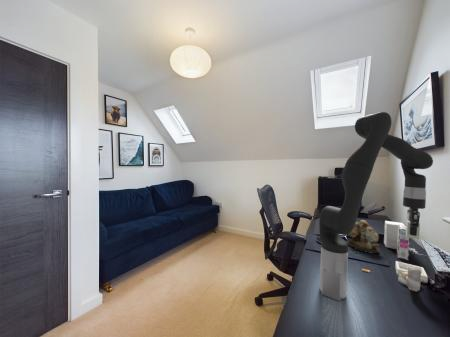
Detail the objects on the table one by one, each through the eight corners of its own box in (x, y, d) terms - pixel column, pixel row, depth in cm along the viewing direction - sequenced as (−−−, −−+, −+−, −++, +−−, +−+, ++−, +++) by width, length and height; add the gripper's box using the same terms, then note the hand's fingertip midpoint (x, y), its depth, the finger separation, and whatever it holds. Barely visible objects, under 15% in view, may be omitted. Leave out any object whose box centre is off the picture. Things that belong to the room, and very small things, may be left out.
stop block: (418, 239, 89) (419, 223, 89) (406, 237, 91) (407, 221, 91) (417, 236, 92) (418, 221, 92) (405, 234, 95) (406, 220, 94)
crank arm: (400, 273, 89) (401, 255, 88) (416, 277, 86) (417, 258, 85) (405, 290, 76) (406, 269, 76) (423, 295, 73) (424, 273, 73)
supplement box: (401, 246, 126) (402, 222, 126) (405, 251, 119) (406, 226, 118) (383, 242, 131) (384, 220, 131) (385, 247, 123) (386, 223, 123)
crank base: (418, 282, 86) (418, 278, 86) (421, 290, 80) (422, 285, 80) (362, 267, 98) (362, 263, 98) (361, 273, 92) (362, 268, 92)
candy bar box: (409, 261, 106) (411, 230, 106) (397, 258, 109) (398, 228, 109) (408, 254, 115) (409, 225, 114) (396, 251, 118) (397, 224, 117)
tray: (427, 283, 85) (427, 276, 85) (397, 275, 91) (397, 268, 91) (422, 273, 93) (423, 267, 93) (395, 266, 99) (395, 260, 99)
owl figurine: (341, 244, 126) (342, 217, 126) (350, 241, 132) (351, 215, 132) (375, 256, 111) (376, 225, 111) (383, 251, 117) (384, 222, 117)
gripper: (429, 200, 83) (427, 240, 84) (422, 196, 95) (420, 231, 95) (405, 197, 88) (403, 236, 88) (401, 194, 99) (399, 228, 100)
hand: (412, 233), depth 92 cm, fingers closed on stop block, 4 cm apart
